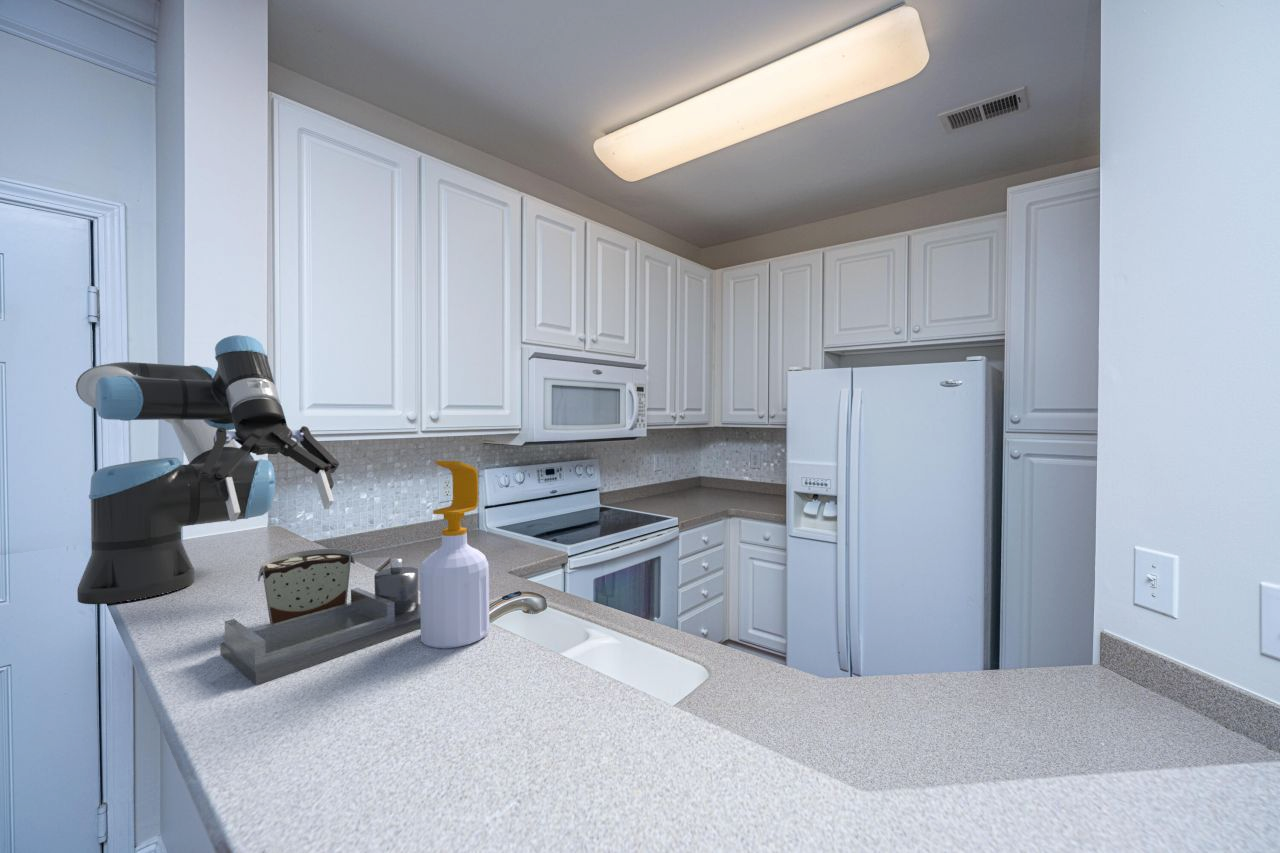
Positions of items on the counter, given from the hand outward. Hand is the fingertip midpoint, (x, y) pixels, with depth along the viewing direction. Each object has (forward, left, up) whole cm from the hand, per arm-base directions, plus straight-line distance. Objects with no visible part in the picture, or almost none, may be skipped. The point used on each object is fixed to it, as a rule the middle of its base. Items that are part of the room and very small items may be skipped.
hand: (285, 510), depth 87 cm
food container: (+11, -1, -16) cm, 19 cm away
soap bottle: (+35, +9, -16) cm, 39 cm away
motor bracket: (+22, -1, -15) cm, 27 cm away
